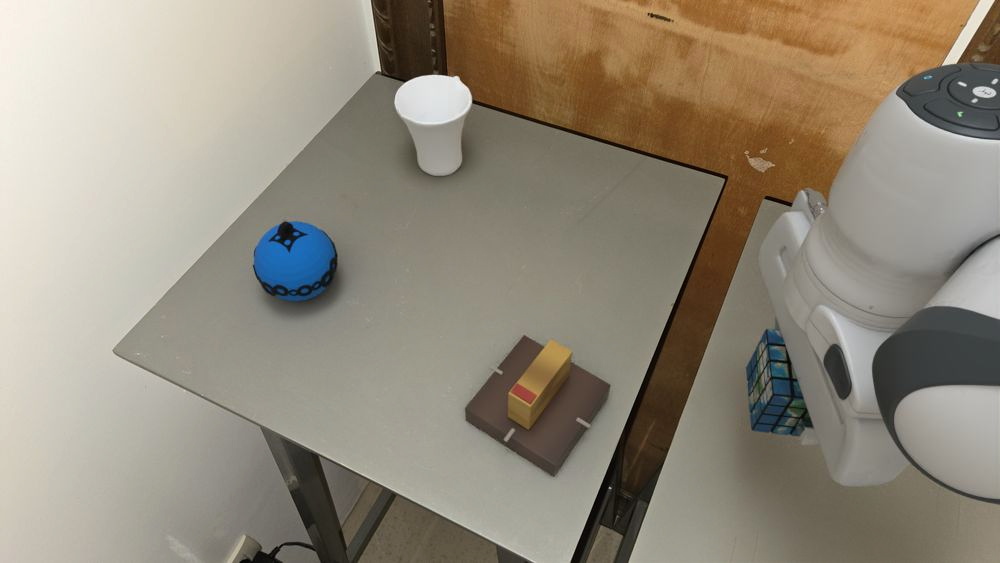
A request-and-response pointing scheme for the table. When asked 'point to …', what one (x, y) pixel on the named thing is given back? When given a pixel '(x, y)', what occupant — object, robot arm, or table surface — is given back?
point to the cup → (435, 120)
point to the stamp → (539, 384)
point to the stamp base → (556, 422)
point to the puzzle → (774, 388)
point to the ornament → (295, 261)
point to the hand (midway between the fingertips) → (792, 392)
